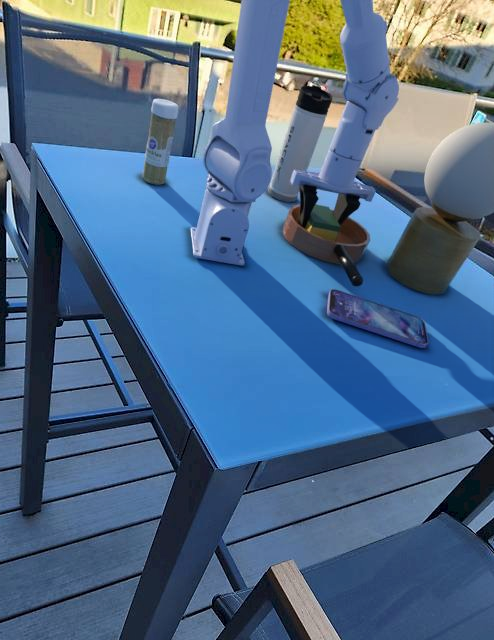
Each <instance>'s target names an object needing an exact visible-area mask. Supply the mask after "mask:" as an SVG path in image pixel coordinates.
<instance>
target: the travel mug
mask: <svg viewBox="0 0 494 640" xmlns="http://www.w3.org/2000/svg"><path fill="white" fill-rule="evenodd" d="M332 101H333V95H332V94H331V93H329V92H328V91H326V90H324V89H322V87H321V86H319V85H316V84H312V85H303V86H300V89H299V93H298V96H297V100H296V101H295V104H294V108H293V110H292V114H291V117H290V120H289V123H288V126H287V129H286V133H285V135H284V139H283V142H282V145H281V149H280V151H279V155H278V157H277V161H276V164H275V168H274V170H273V172H272V176H271V180H270V183H269V185H268V188H267V189H268V190H267V193H268V194H269V196H271V197H272V198H274V199H276V200H278V201H281V202H285V203H294V202H296V201H297V199H298V197H299V195H300V192H299V185H298V186H294V185H292V184H291V181H290V179H291V176H292V173H293V170H299V171H308V170H309V167H310V163H311V161H312V158H313V155H314V152H315V150H316V147H317V144H318V141H319V137H320V135H321V133H322V130H323V127H324V125H325V122H326V118H327V116H328V112H329V109H330V107H331V104H332Z"/></svg>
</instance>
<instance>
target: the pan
mask: <svg viewBox="0 0 494 640" xmlns="http://www.w3.org/2000/svg"><path fill="white" fill-rule="evenodd" d="M288 209H289V210H288V213H287V215H286V218H285V220H284V224H283V227H282V235H283V237H284V238H285V240H286V241H287V242H288V243H289V244H290V245H291V246H292V247H294V248H295V249H297V250H299V251H300V252H302V253H303V254H304V255H307V256H310V257H312V258H315V259H316V260H317V259H318V260H319V261H323V262H327V263H332V264H336V265H337V264H338V265H341V264H340V262H339V260H338V258H337V256H336V254H335V253H334V248H335V247H336V246H337V245H340V244H341V245H343V246H344V247H345V249H346V251H347V252H348V254H349V256H350V257H351V259H352V261H353V262H354V264H355V263H358V262H359V261H360V260H361V259H362V258H363V256H364V254H365V252H366V250H367V248H368V246H369V245H370V242H371V234H370V233H369V231H368V229H366V228H365V227H364V226H363V225H362V224H360V223H359V222H358V221H357V220H355V219H353V218H351V217H350V216H349V217H348V218H347V219H346V220H345V221H344V222H343V223H342V224H341V225H340V226H341V227H340V230H339V232H338V234H337V237H336V239H335V241H334V242H333V241H330V240H327V239H324V238H321V237H319V236H317V235H315V234H313V233H311V232H309V231H307V230H306V229H304V228H303V227H301V226H300V225H299V224H298V223H297V222H296V221H297V218H298V215H299V213H300V204H298V205H293V206H292V207H289V208H288ZM330 210H331V211H332V213H333V211H334V209H331V208H330Z"/></svg>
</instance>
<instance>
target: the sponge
mask: <svg viewBox="0 0 494 640" xmlns="http://www.w3.org/2000/svg"><path fill="white" fill-rule="evenodd" d="M330 209H331V208H330V207H329V206H326V205H321V204H317V203H316V204H315V206H314V208H313V210H312V212H311V214H310V216H309V219H308V222H307V224H306V227H305V229H306V230H307V231H309V232H311V233H313V234H315V235H317V236H319V237H321V238H324V239H327V240H330V241H333V242H334V241H335V239H336V237H337V234H338V232H339V230H340V227H341V226H340V225H339V223H338V221H337V220H336V218H335V216H334V215H333V213H332V211H331V210H332V209H331V210H330ZM299 214H300V213H299ZM298 221H299V215H298V218H297V221H296V222H297V223H298Z"/></svg>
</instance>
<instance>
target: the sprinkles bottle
mask: <svg viewBox="0 0 494 640" xmlns="http://www.w3.org/2000/svg"><path fill="white" fill-rule="evenodd" d="M150 109H151V110H150V111H151V118H150V124H149V131H148V138H147V142H146V147H145V153H144V164H143V171H142V174H141V178H142V180H144V181H145V182H146V183H148V184H152V185H159V186H160V185H164V184H165V183H166V181H167V171H168V168H169V167H168V166H169V163H170V157H171V151H172V147H173V139H174V131H175V127H176V121H177V119H178V116H179V109H180V107H179V105H178V103H175V102H173V101H172V100H168V99H164V98H154V99H152V102H151V108H150Z"/></svg>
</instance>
